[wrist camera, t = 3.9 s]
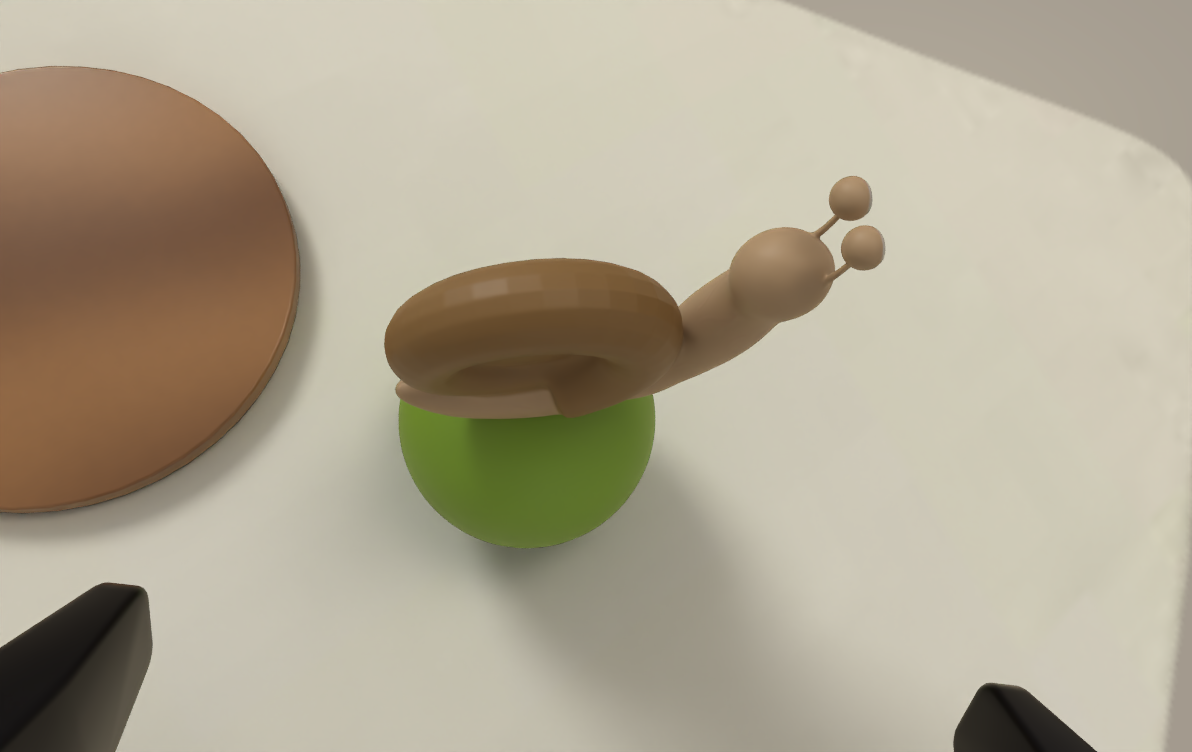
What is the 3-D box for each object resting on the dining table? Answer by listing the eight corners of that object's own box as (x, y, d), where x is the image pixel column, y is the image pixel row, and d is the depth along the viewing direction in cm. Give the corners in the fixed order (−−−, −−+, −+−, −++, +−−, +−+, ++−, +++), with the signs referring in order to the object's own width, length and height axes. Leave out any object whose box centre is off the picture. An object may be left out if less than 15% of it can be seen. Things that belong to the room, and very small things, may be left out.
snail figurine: (686, 532, 21) (947, 431, 10) (420, 573, 20) (358, 516, 8) (647, 322, 22) (838, 17, 11) (396, 350, 21) (315, 40, 10)
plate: (380, 368, 21) (378, 361, 21) (-93, 610, 18) (-112, 609, 18) (182, 18, 23) (175, 3, 22) (-278, 189, 20) (-300, 176, 19)
